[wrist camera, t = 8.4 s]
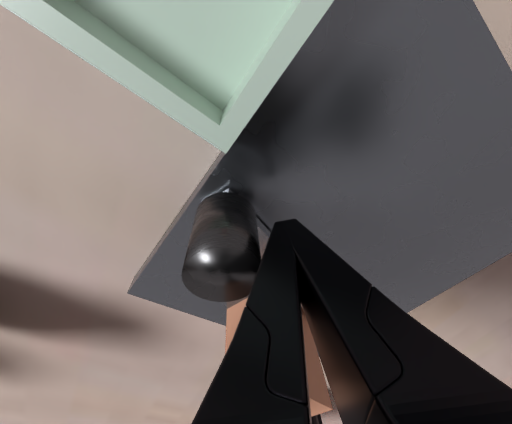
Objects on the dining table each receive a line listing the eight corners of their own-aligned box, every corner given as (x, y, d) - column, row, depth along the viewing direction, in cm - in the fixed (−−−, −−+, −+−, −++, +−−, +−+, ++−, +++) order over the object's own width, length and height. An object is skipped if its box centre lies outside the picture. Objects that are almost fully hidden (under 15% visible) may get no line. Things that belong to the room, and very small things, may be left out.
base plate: (564, 198, 13) (587, 209, 12) (322, 346, 20) (326, 359, 19) (388, -92, 6) (412, -113, 6) (133, 278, 14) (127, 293, 13)
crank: (372, 319, 16) (404, 382, 13) (324, 338, 17) (343, 401, 14) (242, 163, 9) (246, 222, 6) (175, 212, 10) (149, 283, 7)
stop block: (306, 310, 15) (333, 409, 11) (261, 331, 16) (270, 429, 12) (274, 283, 13) (291, 389, 9) (226, 309, 14) (223, 414, 10)
